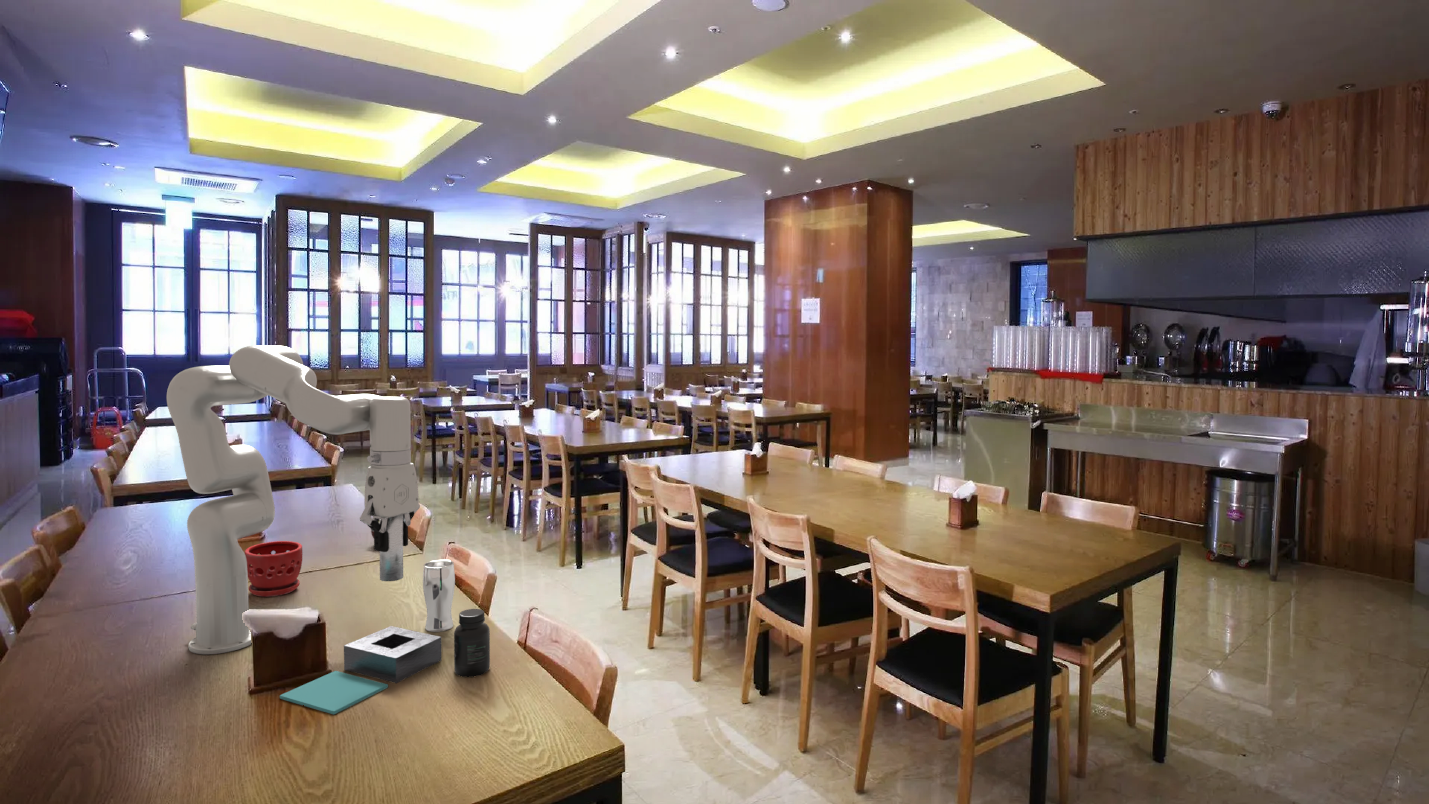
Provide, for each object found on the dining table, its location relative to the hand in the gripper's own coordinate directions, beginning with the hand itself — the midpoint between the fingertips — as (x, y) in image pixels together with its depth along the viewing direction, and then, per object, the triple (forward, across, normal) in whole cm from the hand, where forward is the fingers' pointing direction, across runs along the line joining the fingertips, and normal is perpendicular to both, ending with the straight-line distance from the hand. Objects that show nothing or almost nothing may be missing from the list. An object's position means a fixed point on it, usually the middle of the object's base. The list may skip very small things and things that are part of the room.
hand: (391, 547), depth 155 cm
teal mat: (+25, -14, 0) cm, 28 cm away
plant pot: (+25, +20, +63) cm, 70 cm away
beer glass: (+25, +20, +7) cm, 33 cm away
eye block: (+25, 0, 0) cm, 25 cm away
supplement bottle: (+25, +5, -16) cm, 30 cm away
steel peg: (+6, 0, 0) cm, 6 cm away
